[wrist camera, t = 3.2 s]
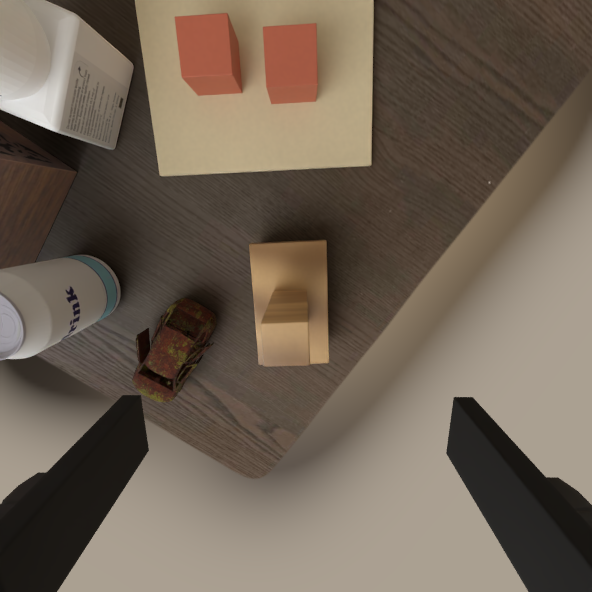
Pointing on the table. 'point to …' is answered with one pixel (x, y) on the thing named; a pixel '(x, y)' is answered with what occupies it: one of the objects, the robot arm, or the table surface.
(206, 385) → the table surface
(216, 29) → the cube
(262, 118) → the mat
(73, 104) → the container
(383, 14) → the table surface
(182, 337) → the toy car
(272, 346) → the brush
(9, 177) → the tissue box cover
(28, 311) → the beverage can
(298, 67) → the cube
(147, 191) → the table surface
